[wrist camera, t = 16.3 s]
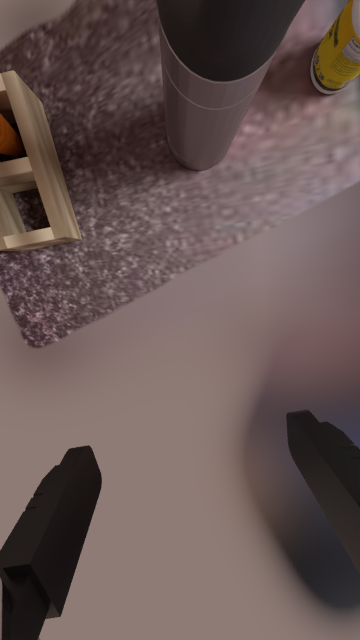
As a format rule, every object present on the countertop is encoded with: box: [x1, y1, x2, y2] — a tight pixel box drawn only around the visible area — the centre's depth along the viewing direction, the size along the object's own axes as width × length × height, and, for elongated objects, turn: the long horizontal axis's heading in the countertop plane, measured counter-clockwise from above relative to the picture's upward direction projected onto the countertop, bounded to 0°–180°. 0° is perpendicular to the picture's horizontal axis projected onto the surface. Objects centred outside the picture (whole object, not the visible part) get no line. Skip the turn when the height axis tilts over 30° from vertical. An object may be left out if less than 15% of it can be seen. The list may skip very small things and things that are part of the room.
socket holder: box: [0, 70, 82, 251], centre depth 30 cm, size 10×18×6 cm, turn 11°
